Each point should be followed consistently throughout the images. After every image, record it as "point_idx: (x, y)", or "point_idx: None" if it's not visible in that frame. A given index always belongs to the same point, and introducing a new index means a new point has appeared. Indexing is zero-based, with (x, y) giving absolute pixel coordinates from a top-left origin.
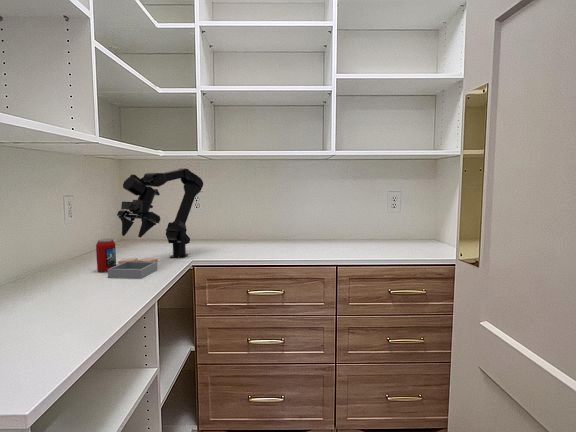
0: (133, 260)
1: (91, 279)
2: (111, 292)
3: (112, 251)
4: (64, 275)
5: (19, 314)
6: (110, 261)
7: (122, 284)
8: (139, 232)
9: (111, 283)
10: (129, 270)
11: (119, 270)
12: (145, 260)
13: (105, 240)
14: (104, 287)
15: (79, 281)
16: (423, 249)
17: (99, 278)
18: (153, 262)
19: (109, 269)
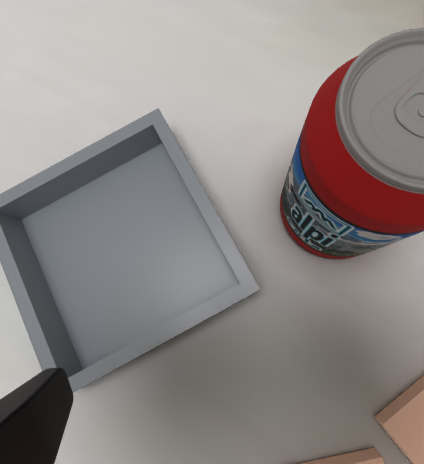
0: (399, 440)
1: (208, 74)
2: None
3: (297, 178)
4: (403, 28)
5: None
6: (285, 184)
7: (11, 115)
8: (8, 408)
9: (66, 96)
10: (42, 173)
11: (96, 145)
12: None
13: None
14: (39, 52)
15: (220, 29)
16: None
17: (193, 103)
18: (70, 384)
19: (147, 114)
